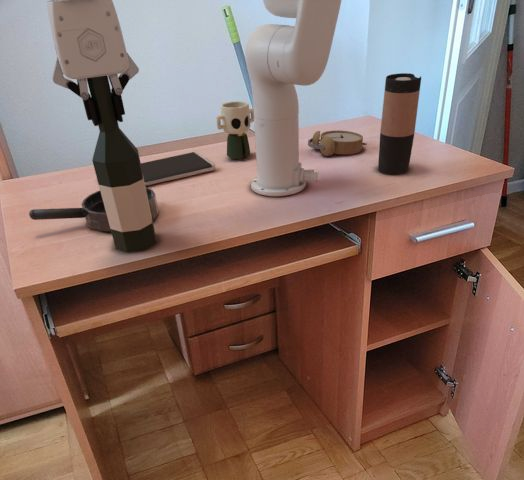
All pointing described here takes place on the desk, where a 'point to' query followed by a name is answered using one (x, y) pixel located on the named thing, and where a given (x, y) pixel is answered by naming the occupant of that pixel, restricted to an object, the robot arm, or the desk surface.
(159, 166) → the smartphone
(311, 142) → the alarm clock
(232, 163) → the desk surface
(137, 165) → the wine bottle
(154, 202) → the pan
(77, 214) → the pan handle
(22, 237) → the desk surface
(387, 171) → the travel mug
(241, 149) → the character mug
